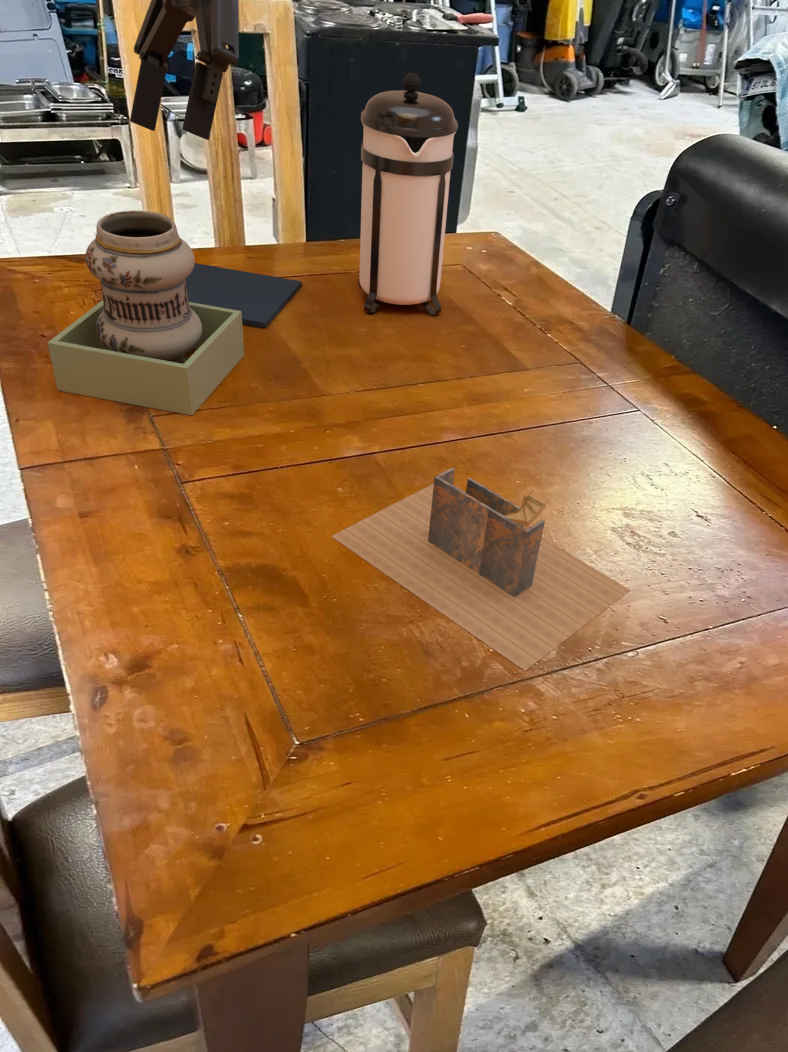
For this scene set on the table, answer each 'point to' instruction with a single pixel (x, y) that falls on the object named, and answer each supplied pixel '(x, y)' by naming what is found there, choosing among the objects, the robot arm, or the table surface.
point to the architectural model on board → (484, 566)
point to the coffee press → (404, 196)
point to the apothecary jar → (144, 286)
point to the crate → (148, 364)
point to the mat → (241, 292)
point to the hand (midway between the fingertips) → (167, 130)
